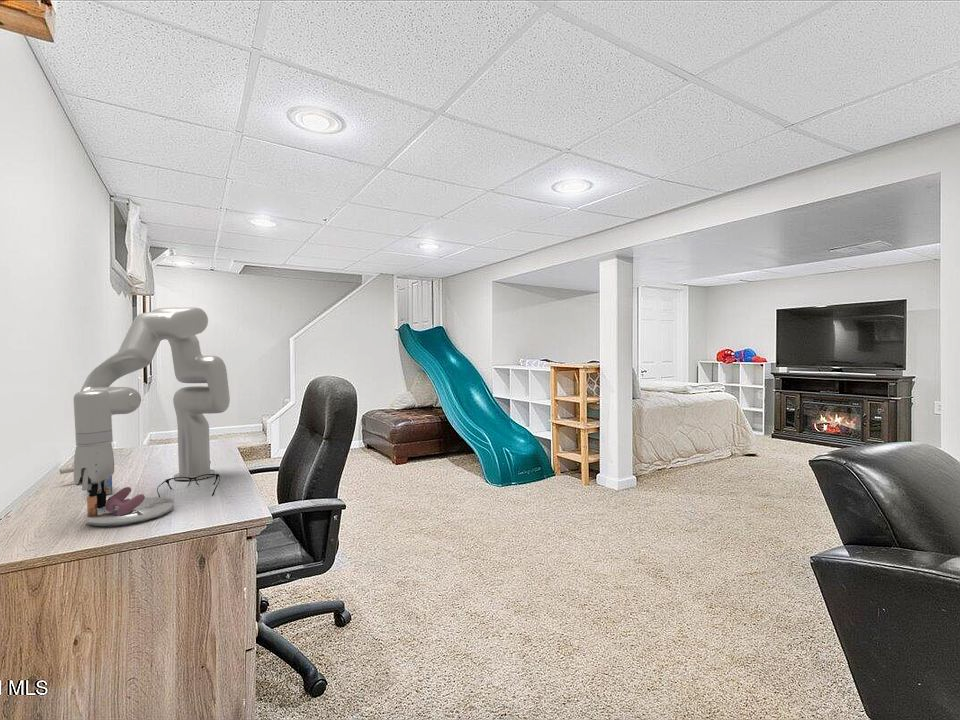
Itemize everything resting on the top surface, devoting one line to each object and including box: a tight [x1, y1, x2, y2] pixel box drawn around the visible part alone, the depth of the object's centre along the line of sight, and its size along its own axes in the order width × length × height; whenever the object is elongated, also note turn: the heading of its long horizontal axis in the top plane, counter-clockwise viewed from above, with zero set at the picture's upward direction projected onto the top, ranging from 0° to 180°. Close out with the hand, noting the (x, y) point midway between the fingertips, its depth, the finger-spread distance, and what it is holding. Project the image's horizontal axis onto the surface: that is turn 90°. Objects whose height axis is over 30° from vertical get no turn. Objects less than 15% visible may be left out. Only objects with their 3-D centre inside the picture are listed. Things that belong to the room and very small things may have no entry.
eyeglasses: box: [156, 473, 221, 497], centre depth 151 cm, size 16×16×4 cm
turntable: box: [85, 495, 175, 527], centre depth 130 cm, size 19×19×6 cm
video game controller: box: [105, 486, 146, 515], centre depth 128 cm, size 10×5×7 cm
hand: (98, 507), depth 128 cm, fingers closed
